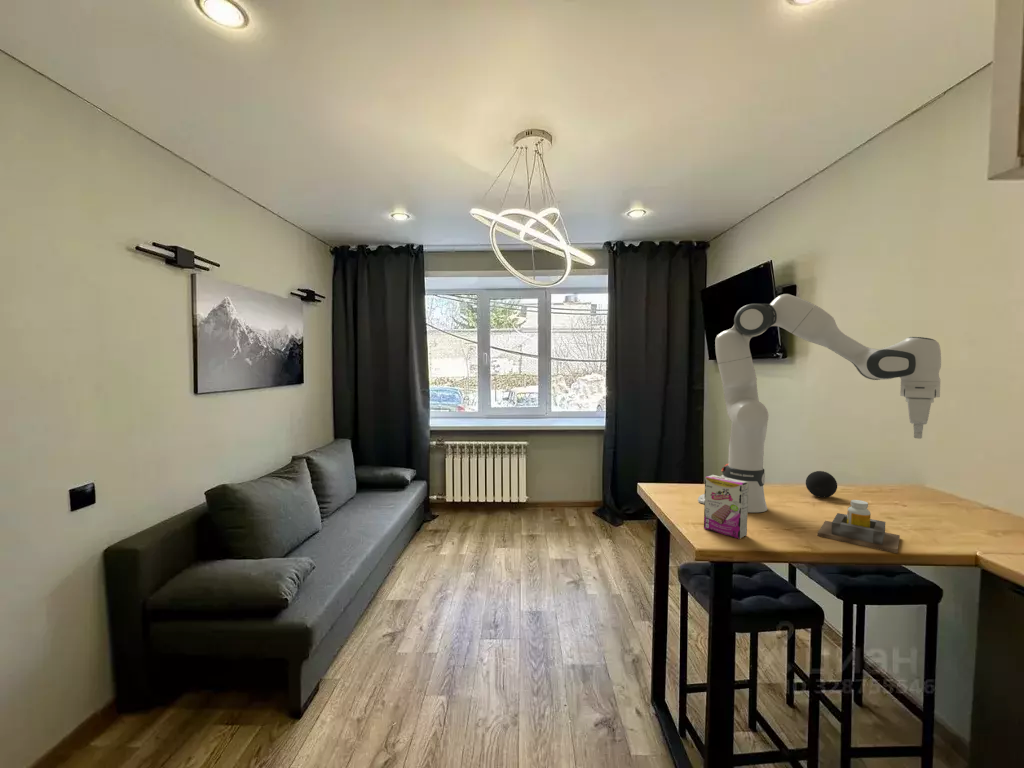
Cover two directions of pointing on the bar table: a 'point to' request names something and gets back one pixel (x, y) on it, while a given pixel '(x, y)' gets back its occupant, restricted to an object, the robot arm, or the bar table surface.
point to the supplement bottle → (858, 514)
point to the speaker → (821, 484)
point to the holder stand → (860, 533)
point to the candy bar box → (726, 506)
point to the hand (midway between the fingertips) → (918, 436)
